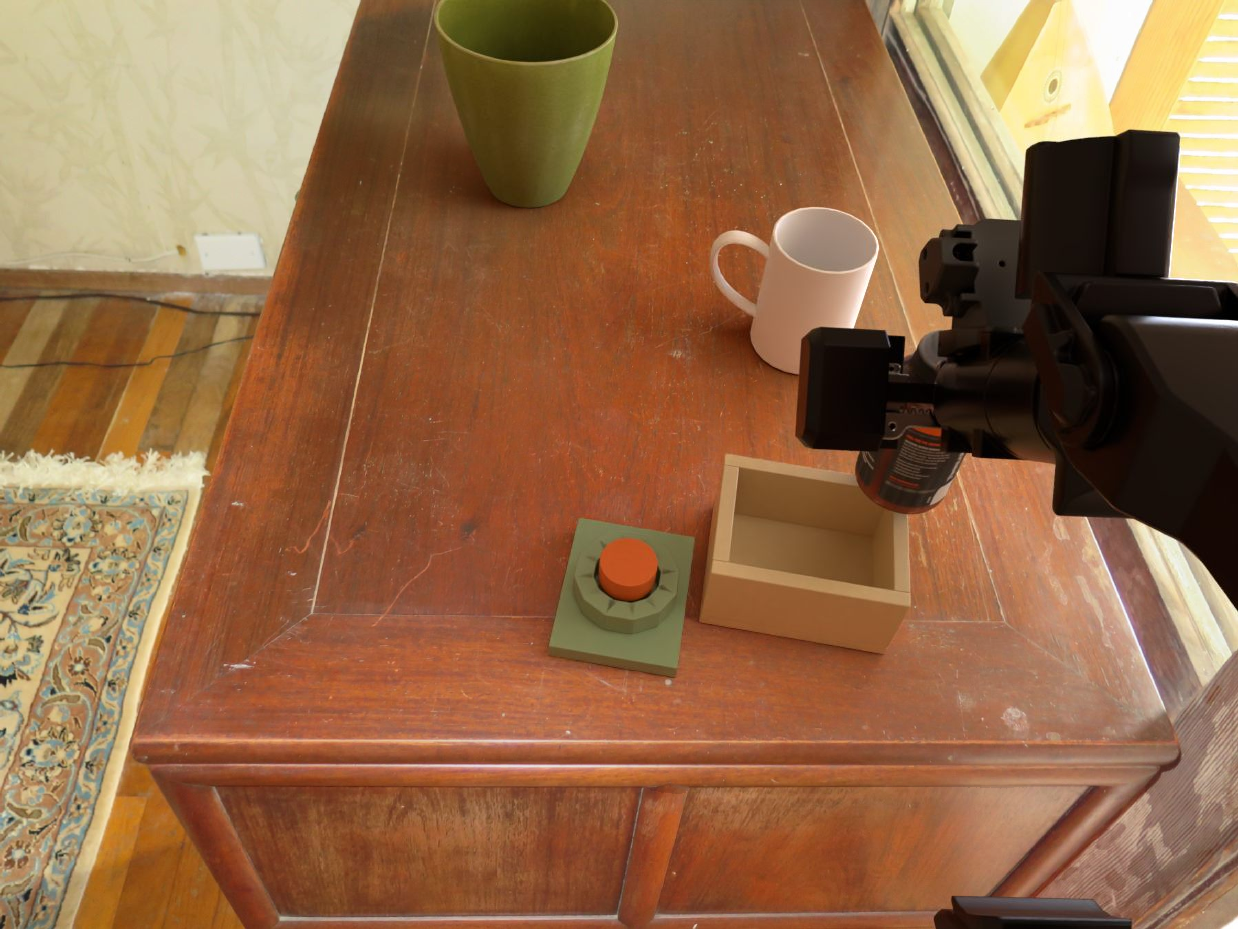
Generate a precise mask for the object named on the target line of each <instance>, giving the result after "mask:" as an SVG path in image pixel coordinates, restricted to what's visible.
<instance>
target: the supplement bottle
mask: <svg viewBox="0 0 1238 929" xmlns="http://www.w3.org/2000/svg"><path fill="white" fill-rule="evenodd" d="M943 330H944V329H938V330H933V331H930V332H928V333H926V334H925V335H924V336H922V337H921V339H920V340H919V342H918V344H917V347H916V348H915V351H914V352H913V353H910V354H907V355H905V356H904V366H903V374H908V375H909V382H908V383H923V384H935V381H936V378H937V376H936V366H937V363H938V362H939V361H942V360H946V358H947V357H938V355H937V350H938V337H939V331H943ZM907 408H908V409H909V412H910V411H911V408H916V411H917V412H918V410H919V408H923V409H924V413H925V411H926V409H931V411H932V413H933V411H934V408H933V404H923V403H907ZM900 413H902V411H900ZM940 437H941V429H933V428H913V427H910V428H907V429H906V430H905V432H904V434H903V435H902V436H901V437H900V438H898V448H897V449H879V450H878V452H863V451H858V452H859V453H858V455H857V458H856V462H855V466H854V475H855V476H856V480H857V483H858V485H859V487H860V488H861V490H862V491H863V492H864V494H865V495H866V496H867V497H868V498H869V499H870V500H872V501H873V502H874V503H875V504H877V505H879V506H880V507H883V508H884V509H887V510H890V511H893V512H896V513H901V514H908V515H919V514H923V513H927V512H929V511H931V510H933V509H935V508H936V507H938V506H939V505H940V504H941V503H942V502H943V500H944V499H945V497H946V495H947V494H948V492H949V490H950V488H951V486H952V485H953V482H954V481H955V480H954V479H955V478H956V476H957V474H958V473H959V470H960V467H962V466H961V465H962V463H963V461H964V459H965V457H966V455H967V453H952V452H943V451H940Z"/></svg>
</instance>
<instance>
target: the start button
mask: <svg viewBox="0 0 1238 929" xmlns="http://www.w3.org/2000/svg"><path fill="white" fill-rule="evenodd" d="M657 567H658V561H657V557H656V554H655V553H654V551H653V550H652V548H651V547H650V546H648V545H647V544H646V543H644V542H642V541H640V540H637V539H632V538H622V539H618V540H615V541H613V542H611V543H610V544H608V545H607V546H606V547H605V548H604V550H603V551H602V553H601V556H600V563H599V574H598V576H599V582H600V585H601V587H602V588H603V590H604V591H605V592H606V593H607V594H608V595H610V596H611V597H613V598H615V599H618V600H622V601H635V600H638V599H641V598H643V597H645V596H646V595H647V594H648V593H649V592H650V591H651V590H652V588H653V586H654V584H655V579H656V573H657Z"/></svg>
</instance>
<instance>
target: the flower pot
mask: <svg viewBox="0 0 1238 929" xmlns="http://www.w3.org/2000/svg"><path fill="white" fill-rule="evenodd" d="M433 12H434V13H433V22H434V27H435V32H436V37H437V41H438V45H439V52H440V55H441V60H442V62H443V67H444V68H443V69H444V72H445V75H446V79H447V82H448V88H449V90H450V93H451V96H452V100H453V104H454V107H455V110H456V113H457V115H458V118H459V122H460V124H461V126H462V130H463V132H464V135H465V137H466V141H467V142H468V145H469V147H470V150H471V152H472V155H473V157H474V159H475V162H476V164H477V166H478V168H479V170H480V172H481V175H482V177H483V179H484V181H485V183H486V185H487V187H488V189H489V191H490V193H491V194H492V196H494V197H495V198H496V199H497V200H498V201H501V202H502V203H505V204H507V205H510V206H513V207H518V208H524V209H525V208H527V209H528V208H529V209H530V208H531V209H532V208H533V209H534V208H540V207H545V206H548V205H552V204H554V203H556V202H557V201H559V200H561V199H562V198H563V197H564V195H565V194H566V192H567V191H568V189H569V187H570V185H571V183H572V181H573V179H574V176H575V174H576V171H577V169H578V167H579V165H580V162H581V160H582V158H583V156H584V154H585V151H586V149H587V145H588V143H589V140H590V137H591V135H592V132H593V129H594V126H595V123H596V120H597V117H598V113H599V110H600V107H601V104H602V99H603V96H604V92H605V88H606V85H607V80H608V76H609V71H610V67H611V62H612V58H613V53H614V48H615V42H616V37H617V31H618V28H619V21H618V17H617V15H616V12H615V10H614V9H613V7H612V6H611V4H609V3H608V2H607V1H606V0H439V2H438V4H437V5H436V7H435V9H434V11H433Z"/></svg>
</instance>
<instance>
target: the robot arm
mask: <svg viewBox="0 0 1238 929" xmlns="http://www.w3.org/2000/svg"><path fill="white" fill-rule="evenodd" d="M1180 145H1181V135H1180V133H1179V132H1178V131H1163V130H1148V129H1147V130H1146V129H1129V128H1128V129H1127V130H1124V131H1122V132H1120V133H1118V134H1116V135H1106V136H1089V137H1081V138H1080V137H1079V138H1072V139H1067V140H1060V141H1056V140H1055V141H1052V140H1042V141H1038V142H1036V143H1033V144H1031V145H1030V146H1029V147H1028V148H1026V149H1025V155H1024V167H1023V182H1022V194H1021V206H1020V207H1021V208H1020V219H1008V218H1007V219H1005V218H1004V219H1003V218H983V219H980V220H978V221H977V222H976V223H975V224H962V223H956V225H954V227H953V228H952V229H947V228H942V229H941V230H940V232H939V234H938V237H932V238H930V239H929V240H928V241H927V242H926V244H925V245H924V246H923V248H921V250H920V253H919V258H918V278H919V279H918V280H919V282H918V283H919V297H920V299H921V301H922V302H923V303H924V304H931V305H937V306H939V307H940V308H941V312H942V316H943V317H948V318H951V326H950V328H951V329H942V330H943V331H939V337H938V350H937V355H938V357H947V358H946V360H942V361H939V362H938V363H937V366H936V376H937V378H936V381H935V384H923V383H908V382H909V375H908V374H903V366H904V357H905V352H906V351H905V350H906V335H894V334H893V335H891V334H888V331H887V329H873V328H872V329H871V328H855V327H854V328H836V327H818V328H814V329H812V330H811V331H810V332H808V333H807V334H806V335H805V336H804V337H803V338H802V339H801V350H800V366H799V374H798V381H797V382H798V385H797V397H796V398H797V400H796V402H797V403H796V412H795V416H796V417H795V430H794V437H796V439H797V440H798V442H800V444H802V446H803V447H804V448H807V449H811V450H823V451H845V452H860V451H863V452H878V450H879V449H897V448H898V438H900V437H901V436H902V435H903V434H904V432H905V430H906V429H907V428H910V427H913V428H933V429H941V437H940V451H943V452H952V453H966V454H971V458H977V459H989V460H990V459H991V460H1010V461H1029V462H1034V463H1042V464H1043V463H1044V464H1050V465H1054V477H1053V478H1054V479H1053V490H1052V503H1051V510H1052V511H1053V514H1055V515H1056V516H1057V517H1076V518H1077V517H1079V518H1097V519H1098V518H1101V519H1122V520H1123V519H1124V520H1135V521H1136V522H1138V523H1140V524H1143V525H1145V526H1147V527H1149V528H1151V529H1153V530H1155V531H1157V532H1160V533H1161V534H1163V535H1165V536H1167V537H1168V538H1171V539H1174V540H1176V541H1177V542H1179V543H1180V544H1182V545H1183V546H1184V547H1185V548H1186V549H1187V551H1189V552H1190V553H1191V554H1192V555H1193V556H1194V557H1195V558H1196V559H1198V560H1199V562H1201V564H1202V565H1203V567H1205V569H1206V570H1207V572H1208V573H1209V574H1210V576H1211V577H1212V579H1213V580H1214V581H1215V582H1216V584H1217V585H1218V587H1219V588H1220V589H1221V591H1222V592H1223V594H1224V595H1225V597H1226V598H1227V599H1228V601H1229V602H1230V603H1231V605H1232V606H1233V607H1234V609H1235V610H1236V611H1237V612H1238V282H1237V281H1228V280H1227V281H1225V280H1210V279H1209V280H1208V279H1188V278H1174V277H1173V278H1172V277H1171V276H1170V275H1171V265H1172V264H1171V263H1172V252H1173V243H1174V242H1173V241H1174V229H1175V219H1176V206H1177V196H1178V195H1177V194H1178V184H1179V172H1180V160H1181V146H1180ZM1170 277H1171V278H1170ZM907 403H923V404H933V408H934V411H933V413H932V411H931V409H926V411H925V413H924V409H923V408H919V410H918V412H917V411H916V408H911V411H910V412H909V409H908V408H907ZM900 411H902V413H900ZM950 901H951V906H952V908H941V909H940V910H938V911H937V912H936V913H935V914H934V916H933V924H934V927H935V929H1133V919H1132V918H1127V917H1119V916H1114V915H1111V914H1109V913H1108V912H1107V911H1105V910H1104V909H1103V908H1102V907H1101V906H1100V904H1098V902H1097V901H1096V900H1095V899H1094V898H1074V897H1073V898H1071V897H1070V898H1067V897H1061V898H1060V897H1023V896H984V895H983V896H982V895H981V896H979V895H951V897H950Z"/></svg>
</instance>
